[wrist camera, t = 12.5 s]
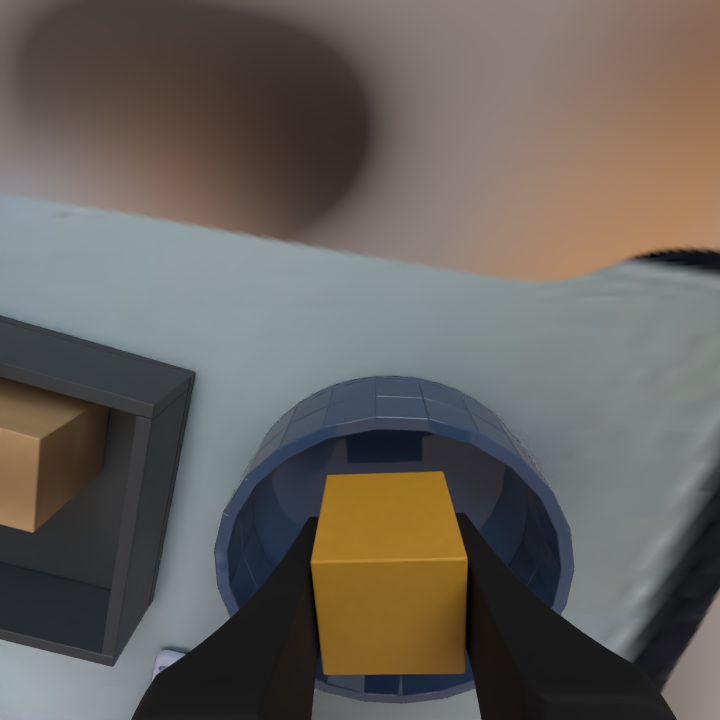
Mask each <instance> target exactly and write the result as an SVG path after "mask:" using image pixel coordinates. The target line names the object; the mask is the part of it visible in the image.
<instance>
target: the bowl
mask: <svg viewBox="0 0 720 720" xmlns="http://www.w3.org/2000/svg"><path fill="white" fill-rule="evenodd" d="M434 471H442V472H443V473H444V476H445V480H446V484H447V487H448V491H449V494H450V498H451V501H452V505H453V508H454V512H455V513H465V514H466V515H467V516H468V517H469V518H470V520H471V521H472V523H473V524H474V526H475V527H476V528H477V530H478V531H479V532H480V534H481V535H482V536H483V538H484V539H485V540H486V542H487V543H488V544H489V545H490V547H491V548H492V549H493V550H494V551H495V552H496V554H497V555H498V556H499V557H500V558H501V560H502V561H503V562H504V563H505V564H506V565H507V566H508V567H509V569H510V570H511V571H512V572H513V573H514V574H515V575H516V576H517V577H518V578H519V579H520V580H521V581H522V582H523V583H524V584H525V585H526V586H527V587H528V588H529V589H530V590H531V591H532V592H533V593H534V594H535V595H537V596H538V597H539V598H540V599H541V600H542V601H543V602H544V603H546V604H547V605H548V606H549V607H550V608H551V609H553V610H554V611H555V612H556V613H558V614H559V615H561V613H562V611H563V610H564V608H565V605H566V603H567V599H568V595H569V590H570V586H571V582H572V577H573V573H574V558H573V549H572V539H571V530H570V527H569V525H568V523H567V521H566V518H565V516H564V514H563V512H562V510H561V508H560V506H559V503H558V501H557V499H556V497H555V495H554V493H553V491H552V490H551V488H550V487H549V485H548V484H547V482H546V481H545V479H544V478H543V476H542V475H541V473H540V472H539V470H538V469H537V467H536V466H535V464H534V463H533V461H532V460H531V458H530V457H529V455H528V454H527V452H526V451H525V449H524V448H523V446H522V445H521V443H520V442H519V441H518V440H517V439H516V438H515V437H514V435H513V434H512V433H511V432H510V430H509V429H508V428H507V427H506V425H505V424H504V423H503V422H502V421H501V420H500V419H499V418H498V417H496V416H495V415H494V414H493V413H492V412H491V411H490V410H489V409H487V408H486V407H484V406H483V405H482V404H480V403H479V402H477V401H476V400H475V399H473V398H471V397H469V396H467V395H465V394H463V393H461V392H459V391H457V390H455V389H452V388H449V387H447V386H444V385H441V384H439V383H435V382H431V381H426V380H422V379H417V378H408V377H398V376H387V377H370V378H363V379H356V380H352V381H348V382H345V383H341V384H338V385H334V386H332V387H329V388H327V389H325V390H322V391H320V392H318V393H316V394H314V395H312V396H310V397H309V398H307V399H305V400H303V401H302V402H300V403H299V404H297V405H296V406H295V407H294V408H292V409H291V410H290V411H288V412H287V413H286V414H285V415H284V416H283V417H282V418H281V419H280V420H279V421H278V422H277V423H276V424H275V425H274V426H273V427H272V428H271V430H270V431H269V432H268V433H267V435H266V436H265V438H264V439H263V441H262V442H261V444H260V446H259V448H258V449H257V451H256V453H255V454H254V456H253V458H252V459H251V461H250V463H249V465H248V466H247V468H246V470H245V472H244V474H243V476H242V478H241V480H240V481H239V484H238V485H237V487H236V489H235V491H234V493H233V495H232V497H231V498H230V500H229V502H228V504H227V506H226V508H225V510H224V512H223V514H222V519H221V523H220V527H219V531H218V536H217V540H216V544H215V548H214V549H215V551H214V553H215V564H216V575H217V585H218V589H219V592H220V594H221V596H222V599H223V601H224V604H225V606H226V608H227V611H228V613H229V615H230V618H231V617H232V616H233V615H234V614H235V613H236V612H237V611H238V610H239V609H240V608H241V607H242V606H243V605H244V604H245V603H246V602H247V601H248V600H249V599H250V598H251V597H252V596H253V595H254V593H255V592H256V591H257V590H258V589H259V588H260V587H261V585H262V584H263V583H264V582H265V581H266V579H267V578H268V577H269V576H270V574H271V573H272V572H273V570H274V569H275V568H276V567H277V565H278V564H279V563H280V561H281V560H282V558H283V557H284V556H285V554H286V553H287V551H288V550H289V548H290V547H291V545H292V544H293V542H294V541H295V539H296V538H297V536H298V534H299V533H300V531H301V530H302V528H303V526H304V524H305V523H306V521H307V519H308V518H309V517H319V514H320V509H321V504H322V499H323V494H324V488H325V483H326V478H327V475H339V474H371V473H403V472H434ZM314 688H316V689H319V690H321V691H324V692H327V693H331V694H335V695H339V696H343V697H347V698H351V699H355V700H359V701H362V700H363V701H365V702H382V703H399V704H403V702H404V703H405V704H406V703H414V702H422V701H429V700H437V699H444V698H448V697H451V696H454V695H457V694H460V693H463V692H466V691H469V690H472V689H475V688H476V687H475V682H474V677H473V673H472V669H471V665H470V661H469V657H468V654H467V650H466V653H465V672H464V673H463V674H380V675H325V674H323V669H322V660H321V651H320V653H319V659H318V664H317V670H316V677H315V685H314Z"/></svg>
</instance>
